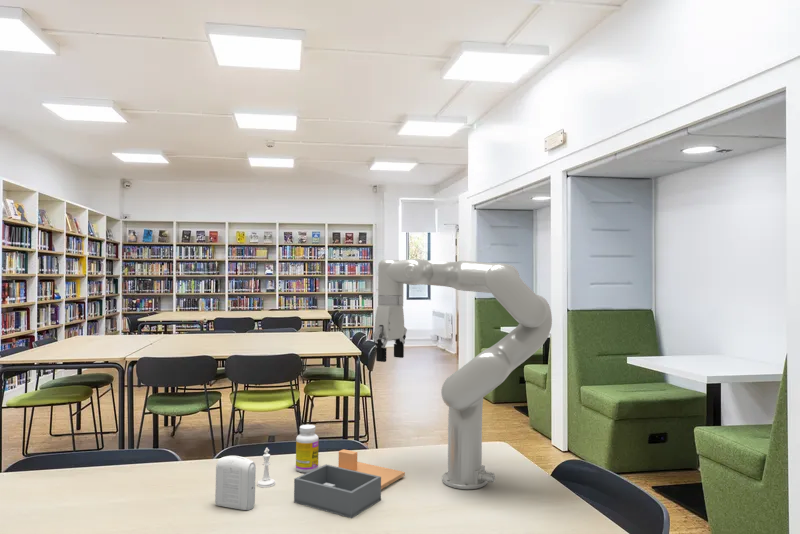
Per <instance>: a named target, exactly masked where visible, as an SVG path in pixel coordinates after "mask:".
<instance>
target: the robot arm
mask: <svg viewBox="0 0 800 534" xmlns="http://www.w3.org/2000/svg"><path fill="white" fill-rule="evenodd" d="M377 272H378V273H377V284H378V285H377V306H376V311H375V316H374V319H375V320H374V331H373V333H372V339H373V343H374V346H375V361H376V362H382V363H386V362H387V347H386V346H387V344H388V342H389V341H394V344H393V358H399V359H404V357H405V356H404V355H405V353H404V352H405V350H404V349H405V342H406V341H405V340H406V337H407V336H406V335H407V332H408V329H407V328H406V327H405V315H404V285H410V286H417V285H419V286H420V285H423V286H424V285H425V286H437V287H447V288H451V289H455V290H457V291H462V292H472V293H473V292H475V293H484V294H485V293H486V294H491V295H492V296H493V297H494V298H495V300H496V301H497V302H498V303H499V304H500V305H501V306H502V307H503V308H504V309H505V310H506V312H508V313H509V315H511V317H512V318H513V319H514V320H515V321H516V322H517V323H518V324H517V326H516V327H515V328H513V329H512V330H511V331H510V332H509V333H507V334H506V335H505V336H504V337H503V338H501V339H500V340H498V341H497V342H496V343H495V344H493V345H491V346H490V347H488V348H486V349H484V350H482V351H481V352H480V353H478V354H477V355H476V356H474V357H473V358H472V359H471V360H469V361H468V362H467V363H465V364H464V365H463V366H461V368H459V369H458V370H456V371H454V372H453V373H452V374H451V375H450V376H449V377H447V378H446V379H445V380H444V381H443V383H442V387H441V389H440V390H441V397H442V398H441V399H442V401H443V403H444V405H446V406H447V407H448V414H447V415H448V418H447V419H448V420H447V424H448V426H447V472H445V473H443V475H442V477H441V479H442V483H443V484H444V485H446V486H448V487H450V488H453V489H454V488H455V489H460V490H476V489H481V488H483V487H485V486H486V485H487V484H488V483H495V481H496V475H495V473H494V472H492V471H491V472H490V471H487V470H486V465H483V464H482V463H483V459H482V457H483V448H482V447H483V406H484V405H483V404H484V397H486V396H487V395H489V394H490V393H491V392H493V391H494V390H495V389H496V388H498V386H500V385H502V383H504V382H505V380H507V378H508V377H509V375H510V374H511V373H512V372H513V371H515V369H516V368H518V367H519V366H521V364H523V363H525V361H526V360H528V359H529V358H530V357H531V356H533V355H534V354H535V353H536V352H538V350H539V349H541V348H542V346H543V345H544V344H545V342H546V341H547V340H548V338H549V335H550V332H551V329H552V324H553V323H552V322H553V318H552V317H553V316H552V310H551V307H550V304H549V302H548V300H547V299H545V298H544V297H543V296H542V295H539V294H536V293H535V292H534V291H533V290H532V289H531V288H530V287H529V286H528V284H526V283H525V281H523V279H522V277H520V274H519V270H517V268H516V267H515V266H513V265H512V264H507V263H499V262H497V263H496V262H481V261H473V260H471V261H469V260H458V261H441V260H439V261H438V260H429V259H428V260H427V259H421V258H420V259H419V258H410V259H402V260H399V259H383V260H380V261H379V263H378V269H377Z"/></svg>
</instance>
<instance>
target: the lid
mask: <svg viewBox="0 0 800 534" xmlns="http://www.w3.org/2000/svg"><path fill="white" fill-rule="evenodd" d="M337 467H340V468H345V469H349V470H354V471H358V472H362V473H367V474H371V475H376V476H380V477H381V490H383V489H384V488H386V487H388V486H390V485H391V484H393V483H395V482H396V481H398V480H399V479H401V478H403V477H404V476H405V475H406V472H405V471H403V470H397V469H392V468H387V467H384V466H379V465H375V464H374V465H373V464H370V463H364V462H360V461H358V451H354V450H348V449H341V450H339V451H338V466H337ZM405 477H406V476H405Z"/></svg>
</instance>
